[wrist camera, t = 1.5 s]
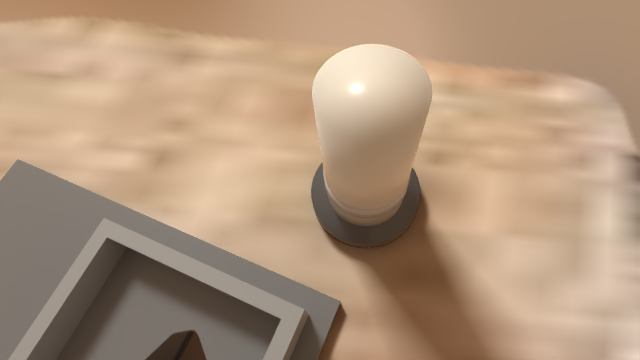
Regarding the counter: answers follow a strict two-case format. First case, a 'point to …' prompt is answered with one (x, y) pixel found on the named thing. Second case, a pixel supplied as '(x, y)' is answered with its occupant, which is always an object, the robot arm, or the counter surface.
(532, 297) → the counter surface
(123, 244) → the holder dock
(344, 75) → the light bulb lamp
